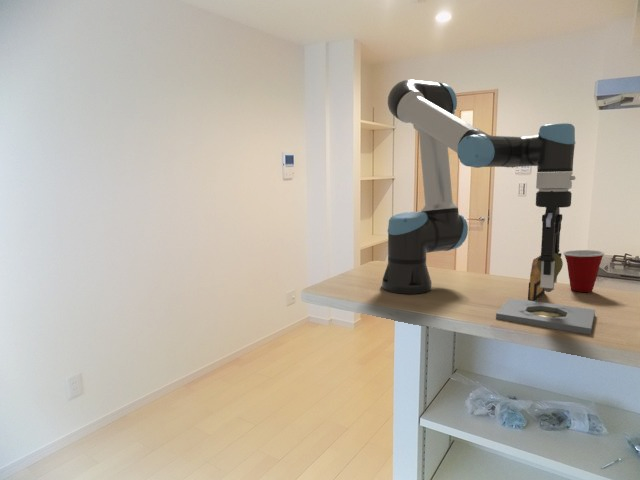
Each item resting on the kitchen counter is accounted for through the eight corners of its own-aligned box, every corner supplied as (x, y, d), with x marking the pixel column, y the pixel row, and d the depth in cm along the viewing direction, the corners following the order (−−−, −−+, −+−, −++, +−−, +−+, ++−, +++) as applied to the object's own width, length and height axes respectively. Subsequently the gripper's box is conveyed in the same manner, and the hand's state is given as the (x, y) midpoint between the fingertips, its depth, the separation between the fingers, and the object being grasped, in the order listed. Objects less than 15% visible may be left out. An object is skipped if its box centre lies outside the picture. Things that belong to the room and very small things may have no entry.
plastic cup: (565, 283, 141) (567, 247, 139) (604, 289, 134) (607, 250, 132) (556, 290, 133) (559, 252, 131) (597, 296, 126) (601, 255, 124)
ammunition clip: (534, 301, 122) (537, 259, 121) (527, 300, 124) (530, 258, 122) (544, 293, 130) (547, 254, 129) (538, 292, 132) (540, 253, 130)
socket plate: (495, 319, 108) (496, 313, 108) (509, 303, 121) (510, 297, 121) (590, 334, 97) (590, 328, 96) (594, 315, 109) (595, 309, 109)
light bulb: (554, 288, 110) (556, 249, 109) (565, 294, 105) (568, 253, 103) (531, 288, 110) (533, 250, 109) (541, 294, 105) (544, 253, 103)
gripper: (567, 191, 94) (561, 295, 98) (575, 189, 109) (569, 279, 113) (529, 191, 99) (524, 291, 102) (542, 189, 114) (537, 275, 117)
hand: (548, 284), depth 107 cm, fingers closed on light bulb, 5 cm apart
